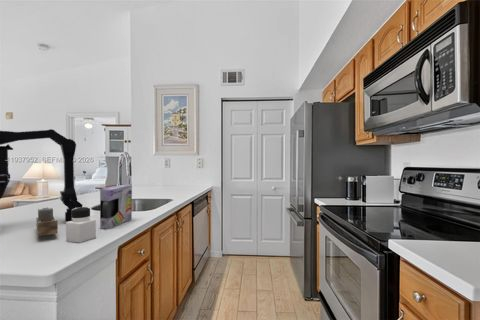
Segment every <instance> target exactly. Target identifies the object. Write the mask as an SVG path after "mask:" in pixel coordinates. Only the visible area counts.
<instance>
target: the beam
mask: <svg viewBox="0 0 480 320" xmlns="http://www.w3.org/2000/svg"><path fill="white" fill-rule="evenodd" d="M35 221H36V223H35V224H36V231H37V236H38V237H41V236H42V235H43V236H49V235H55V234H58V222H59V221H58V219H55V217H54V216H53V219H50V221H47V222H41V220H40V221H38V217H36V219H35Z"/></svg>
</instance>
